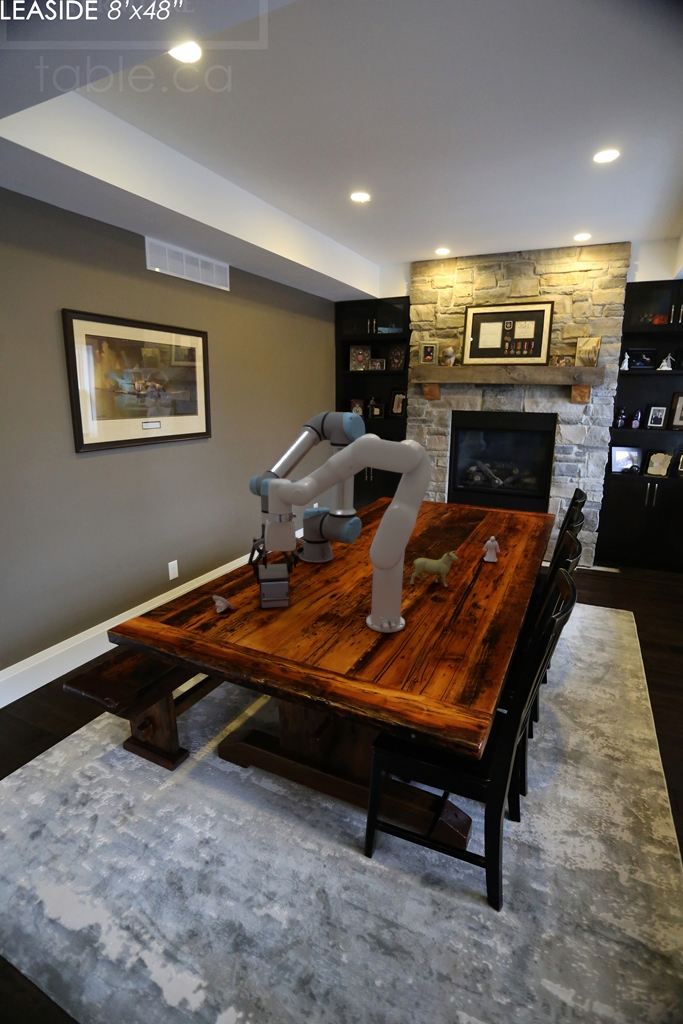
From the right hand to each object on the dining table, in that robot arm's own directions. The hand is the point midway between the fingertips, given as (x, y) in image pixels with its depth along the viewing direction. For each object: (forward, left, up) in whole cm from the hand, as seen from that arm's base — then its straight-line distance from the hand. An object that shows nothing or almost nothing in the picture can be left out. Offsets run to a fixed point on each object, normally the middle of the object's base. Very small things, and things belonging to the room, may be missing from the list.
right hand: (280, 566), depth 166 cm
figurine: (+49, -92, -16) cm, 105 cm away
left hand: (+13, +3, -11) cm, 17 cm away
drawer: (+5, +2, -15) cm, 16 cm away
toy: (+21, -58, -16) cm, 64 cm away
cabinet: (+11, +3, -16) cm, 20 cm away
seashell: (+1, +20, -16) cm, 25 cm away
